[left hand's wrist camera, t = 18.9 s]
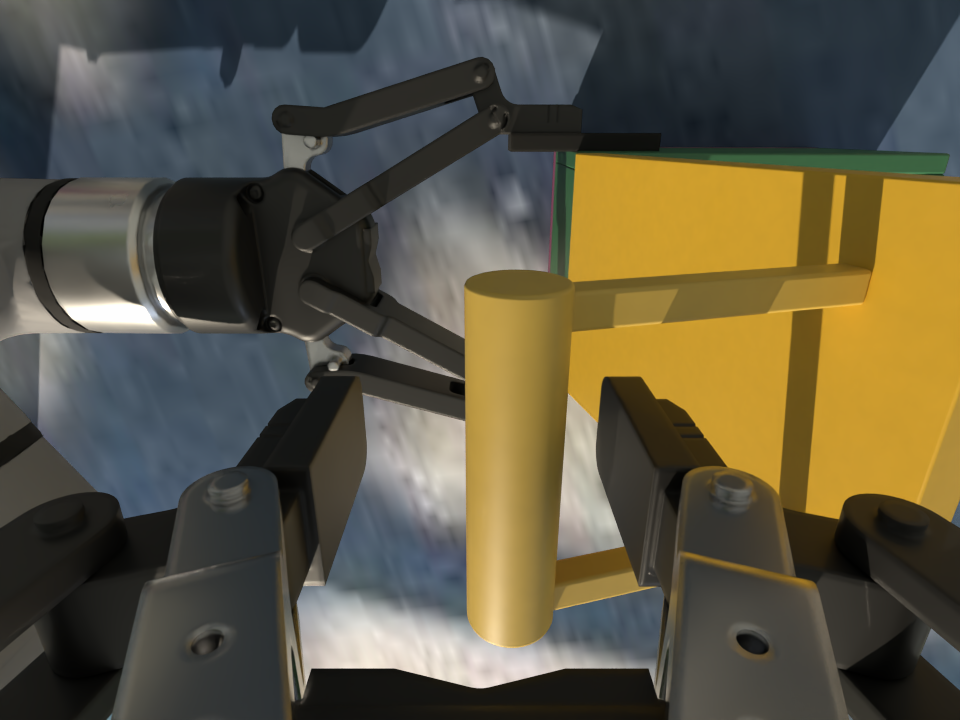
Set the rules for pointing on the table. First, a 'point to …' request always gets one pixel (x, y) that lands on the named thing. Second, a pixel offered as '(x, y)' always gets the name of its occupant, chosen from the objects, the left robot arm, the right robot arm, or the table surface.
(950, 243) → the lid
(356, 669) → the left robot arm
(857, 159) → the chest
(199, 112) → the table surface
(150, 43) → the table surface
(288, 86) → the table surface
